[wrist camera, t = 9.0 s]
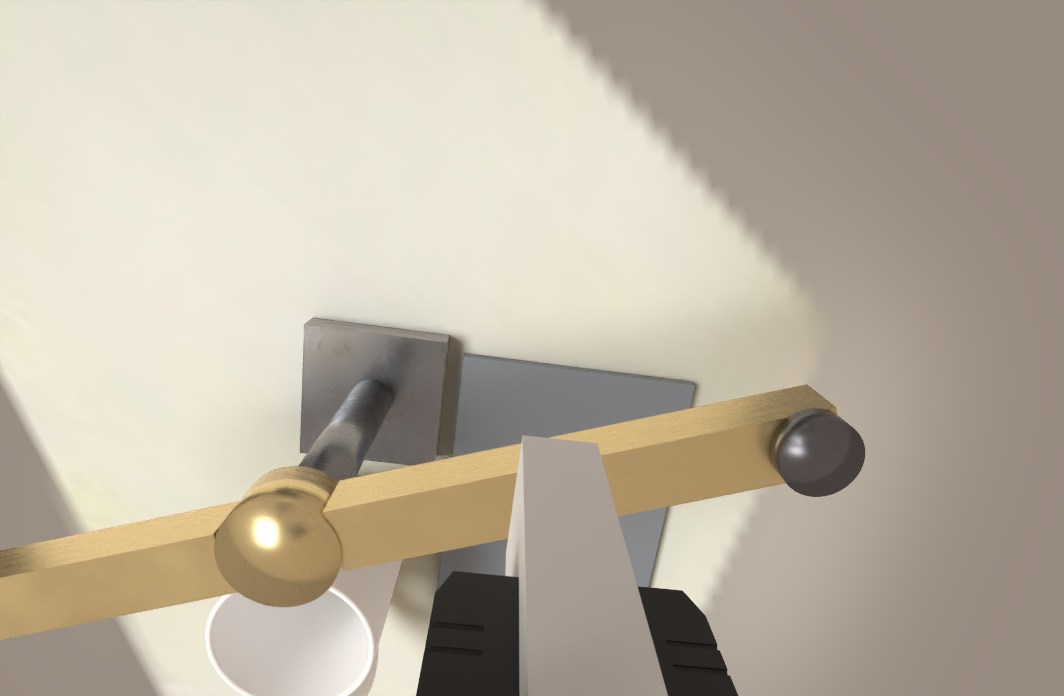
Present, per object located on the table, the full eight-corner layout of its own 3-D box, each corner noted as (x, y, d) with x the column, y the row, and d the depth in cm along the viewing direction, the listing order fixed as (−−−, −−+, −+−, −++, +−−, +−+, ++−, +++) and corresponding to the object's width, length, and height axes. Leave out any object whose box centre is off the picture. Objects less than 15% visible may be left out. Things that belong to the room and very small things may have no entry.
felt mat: (464, 353, 37) (463, 356, 36) (692, 381, 38) (695, 385, 37) (436, 602, 42) (435, 608, 42) (637, 622, 43) (638, 628, 42)
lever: (813, 357, 23) (861, 389, 20) (822, 461, 24) (868, 508, 21) (-157, 558, 24) (-257, 618, 21) (-100, 646, 26) (-187, 715, 22)
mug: (440, 609, 42) (418, 746, 32) (325, 634, 43) (268, 778, 33) (386, 456, 39) (342, 558, 29) (262, 485, 39) (176, 596, 29)
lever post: (312, 317, 36) (198, 407, 23) (449, 335, 36) (412, 432, 24) (308, 441, 38) (202, 585, 25) (436, 456, 39) (396, 605, 26)
